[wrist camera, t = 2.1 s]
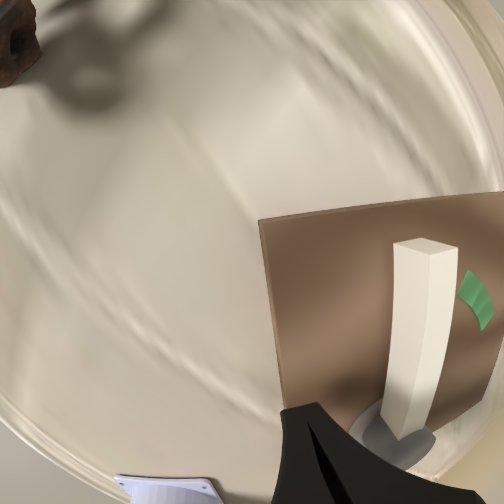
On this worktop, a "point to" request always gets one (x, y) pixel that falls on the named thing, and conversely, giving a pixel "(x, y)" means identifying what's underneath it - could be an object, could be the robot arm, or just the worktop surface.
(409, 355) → the peg lever
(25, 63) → the pottery mug
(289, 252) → the brown flat square board
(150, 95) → the worktop surface
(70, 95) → the worktop surface
